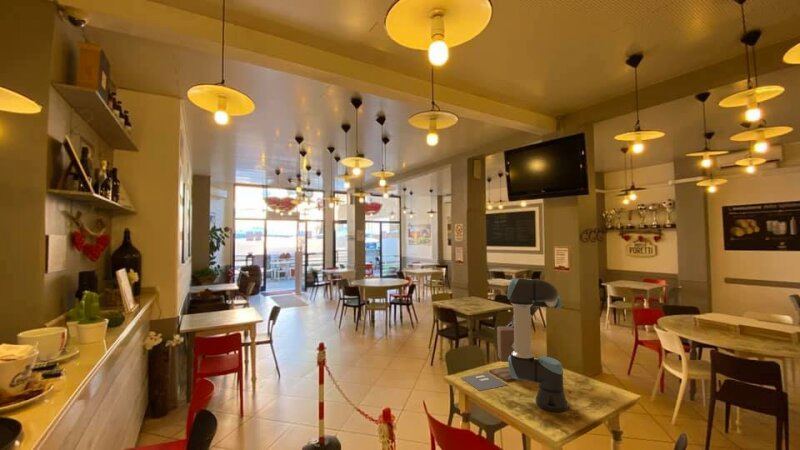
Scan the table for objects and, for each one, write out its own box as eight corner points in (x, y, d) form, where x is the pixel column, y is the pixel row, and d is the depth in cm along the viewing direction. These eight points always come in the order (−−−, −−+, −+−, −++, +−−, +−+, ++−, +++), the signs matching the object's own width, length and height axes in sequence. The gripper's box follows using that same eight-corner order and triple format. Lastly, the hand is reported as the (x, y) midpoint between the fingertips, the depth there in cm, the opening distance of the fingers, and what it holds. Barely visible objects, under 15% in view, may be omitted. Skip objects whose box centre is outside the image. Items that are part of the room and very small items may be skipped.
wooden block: (517, 362, 210) (516, 330, 210) (501, 362, 210) (500, 330, 211) (512, 356, 220) (512, 325, 220) (497, 356, 220) (496, 325, 221)
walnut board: (526, 377, 209) (526, 375, 210) (505, 381, 203) (505, 379, 204) (509, 368, 224) (509, 366, 224) (489, 372, 218) (489, 369, 218)
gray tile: (507, 385, 199) (507, 384, 199) (479, 391, 192) (479, 390, 192) (486, 372, 218) (486, 372, 218) (460, 377, 210) (460, 377, 210)
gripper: (541, 326, 211) (522, 354, 204) (514, 318, 233) (496, 342, 227) (534, 319, 209) (515, 346, 203) (507, 311, 232) (490, 335, 225)
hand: (505, 344), depth 215 cm, fingers closed on wooden block, 12 cm apart
